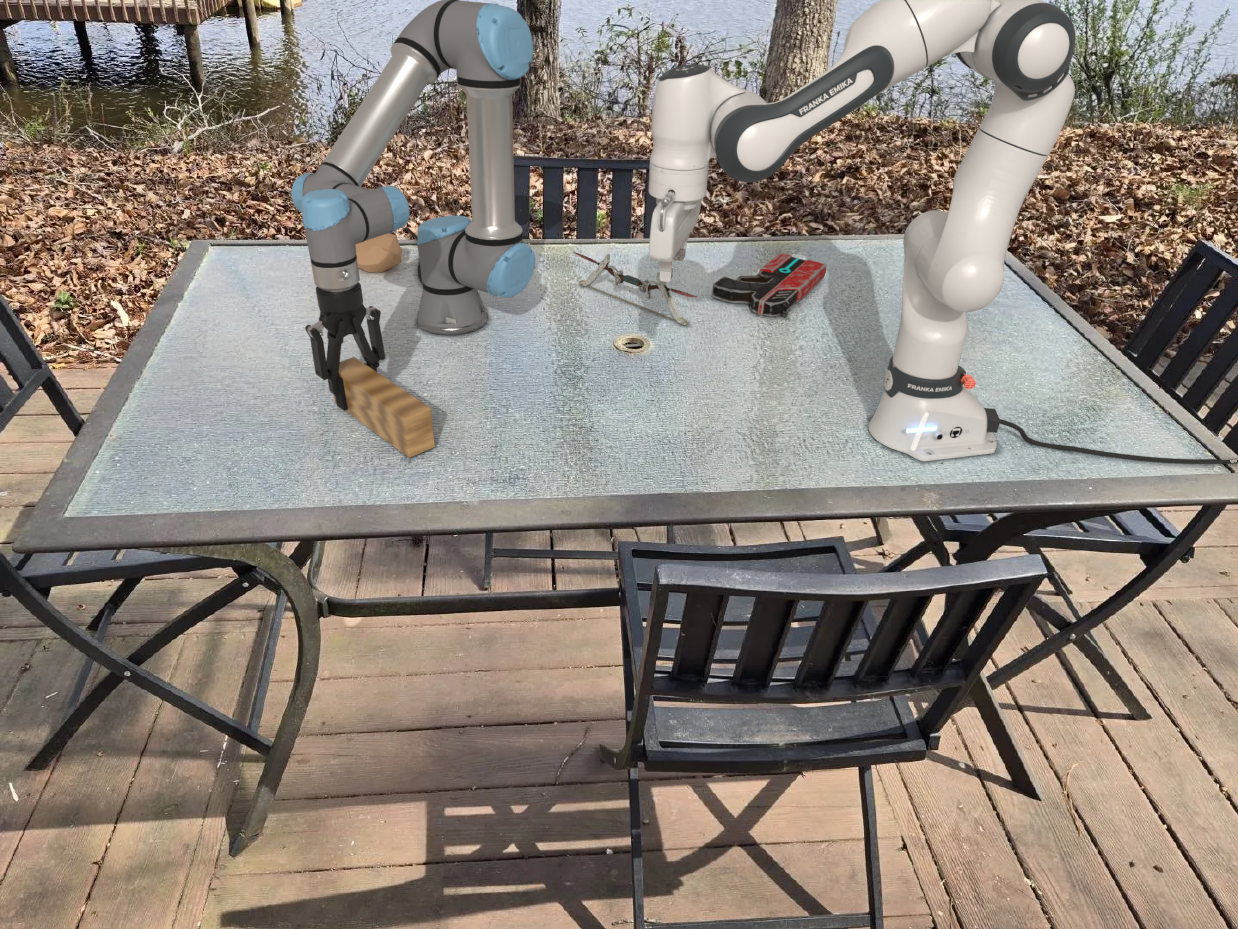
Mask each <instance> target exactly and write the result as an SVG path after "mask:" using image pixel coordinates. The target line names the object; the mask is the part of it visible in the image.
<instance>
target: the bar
mask: <svg viewBox="0 0 1238 929" xmlns="http://www.w3.org/2000/svg"><path fill="white" fill-rule="evenodd" d="M364 363H365V362H363V361H361V360H360V359H358V358H356V356H352V357H350V358H347V359H344V360H340V363H339V373H338V375H339V376H340V377H342V378H343V383H344V389H345V395H346V401H347V407H348V410H346V411H345V412H346V413H348V414H349V415H351V416H352V417H353V418H355V419H356V420H357V421H359V422H360V423H361V424H362V425H364V426H365V427H367V428H368V429H369V430H371V431H372V432H373V433H374V434H376V435H378V436H379V437H380V438H381V439H383V440H384V441H386V442H387V443H388V444H389V445H391V446H392V447H394V448H395V449H396V450H397V451H399V452H400V453H402V454H403V455H404V456H406V457H407V458H408V459H411V458H412V457H415V456H418V455H420V454H422V453H425V452H427V451H429V450H431V449H434V448H436V445H435V444H436V443H435V436H434V424H433V417H432V408H431V407H430V406H428V405H427V404H425V403H424V402H422V401H421V400H419V399H418V398H417V397H415V396H413V395H412V394H411V393H409V392H408V391H406V390H405V389H403V388H401V387H400V386H399V385H397V384H396V383H394V382H393V381H391V380H390V379H388V378H387V377H385V376H384V375H382V374H381V373H379V372H378V371H377V372H376V371H375V370H373V369H372V368H370V367H369V366H367V365H366V364H364ZM333 398H334V399H333V400H334V403H335V404H336V405H337V403H336V398H335V395H334V394H333Z"/></svg>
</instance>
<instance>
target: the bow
mask: <svg viewBox="0 0 1238 929" xmlns="http://www.w3.org/2000/svg"><path fill="white" fill-rule="evenodd" d="M573 254H574V255H577V256H578V257H580V258H582V259H584V260H586V261H588V262H590V263H593V264H596V265H597V268H595V270H593V271H592V272H591V273H590V274H589V275H588V276H587V278H586V280H583V279H582V280H579V281H578V284H579V285H580V286H583V287H589V288H591V289H593V290H596V291H599V292H600V293H604V294H606V295H609V296H612V297H614V298H617V299H619V300H621V301H625V302H626V303H629V304H632V305H634V306H637V307H640V308H642V309H645V310H647V311H650V312H652V313H655V314H657V315H659V316H662V317H665V318H667V319H670V320H672V321H675V322H677V323H678V324H680V325H682V326H687V325H688V324H690V321H689V320H687V318H685V317H683V316H682V315H681V312H680V309H679V307H678V305H677V303H676V302H675V300H674V298H673V297H672V295H671V293H670V292H672V293H674V294H678V295H680V296H684V297H688V298H698V296H697V295H693V294H692V293H689V292H685V291H683V290H681V289H677V288H672V287H671V288H670V287H668V285H667V282H663V281H660V279H659V275H660V271H657V272H656V278H655V279H656V281H655V280H651V281H650V280H649V278H646V279H645V280H641V279H640V278H637V277H635V276H632V275H629V274H626V275H625V274H624V270H623V269H620V270H618V269H617V268H616V267H615V266H614V265H612V264H611V265H610V262H611V254H610V253H607V254H605V255H604V258H603V259H602V260H601V261H600V262H598V261H596V260H595V259H593V258H591V257H589V256H588V255H587V256H586V255H584V254H582V253H579V252H576V251H573ZM606 271H607V272H608V273H609V274H610V275H611V276H612V277H613V282H612V287H613V288H616V287H619V285H621V284H624V283H628V284H630V285H633V286H636V287H638V290H639V292H640V293H642V294H645V295H644V296H645V298H644V299H645V300H651V299H652V293H651V291H653V290H659V292H660V293H661V295H662V297H663V298H664V301H665V303H666V305H667V307H668V309H669V311H670V313H671V315H672V316H673V318H672V317H670V316H667V315H664V314H662V313H660V312H657V311H654V310H652V309H649V308H646V307H644V306H642V305H638V304H636V303H634V302H631V301H628V300H626V299H623V298H621V297H618V296H616V295H613V294H611V293H609V292H606V291H604V290H601V289H598V288H596V287H593V286H590V285H591V284H594V283H595V281H596V280H597V279H598V278H599V277H600V276H601V275H602V274H603V273H604V272H606Z"/></svg>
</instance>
